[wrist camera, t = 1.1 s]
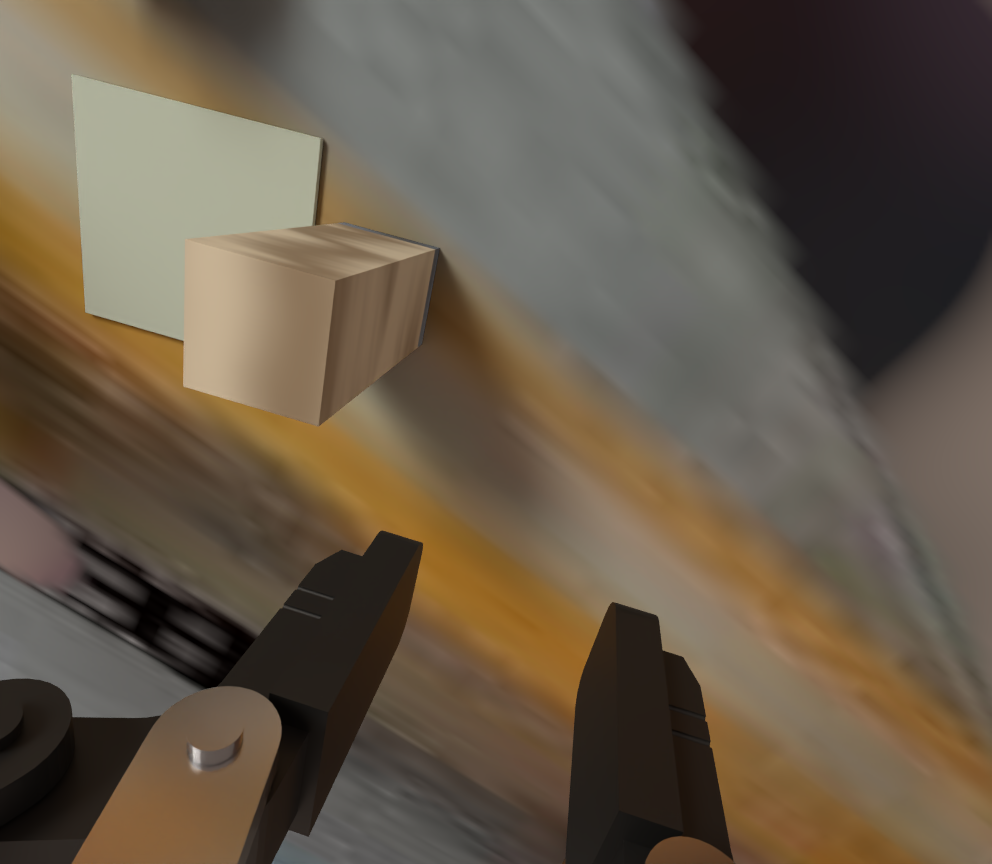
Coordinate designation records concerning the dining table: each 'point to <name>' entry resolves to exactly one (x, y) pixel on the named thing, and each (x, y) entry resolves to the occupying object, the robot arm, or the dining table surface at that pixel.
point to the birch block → (302, 314)
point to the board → (174, 193)
